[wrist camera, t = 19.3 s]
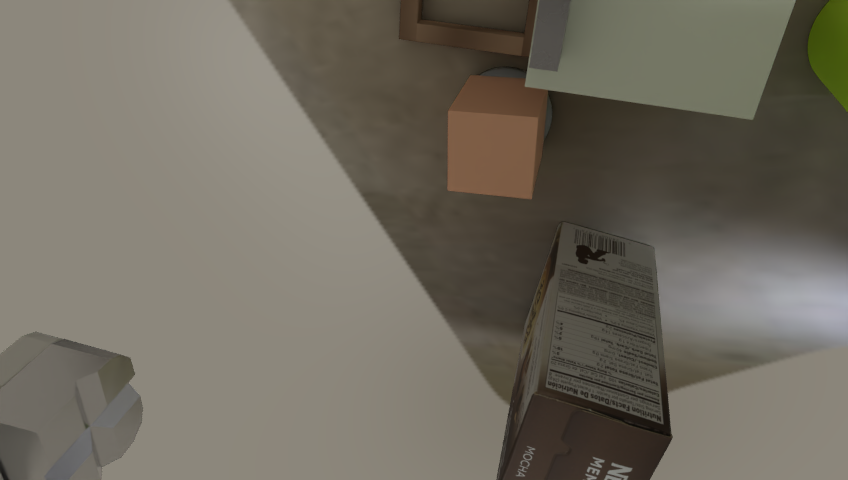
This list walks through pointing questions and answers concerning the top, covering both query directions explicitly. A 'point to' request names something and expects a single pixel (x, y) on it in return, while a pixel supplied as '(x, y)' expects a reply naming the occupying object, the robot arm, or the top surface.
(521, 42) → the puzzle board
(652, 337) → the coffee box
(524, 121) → the terracotta block
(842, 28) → the soap dispenser
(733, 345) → the top surface
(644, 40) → the sliding lid
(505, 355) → the top surface
